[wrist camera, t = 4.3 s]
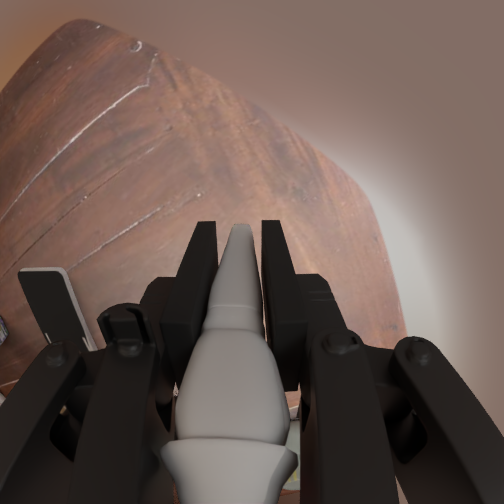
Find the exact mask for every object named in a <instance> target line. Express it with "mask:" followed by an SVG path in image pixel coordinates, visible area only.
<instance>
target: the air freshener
mask: <svg viewBox="0 0 504 504" xmlns="http://www.w3.org/2000/svg"><path fill="white" fill-rule="evenodd" d="M285 447H287V448H288V449H290V450H291V451H293V452H295V453H296V454H297V456H298V465H299V466H298V467H297V469H296V470H295V471H294V473H293V474H292V475H291V476H290V478H289V479H288V480H287V482H286V483H285V485H284V486H283V488H284V489H287V490H300V420H296V421H290V431H289V434H288V438H287V442H286V445H285Z"/></svg>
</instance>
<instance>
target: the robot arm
mask: <svg viewBox="0 0 504 504" xmlns="http://www.w3.org/2000/svg"><path fill="white" fill-rule="evenodd" d="M218 268H219V267H218V252H217V237H216V221H202V222H198V223H197V225H196V228H195V230H194V232H193V235H192V237H191V240H190V242H189V244H188V247H187V249H186V252H185V254H184V257H183V259H182V262H181V264H180V267H179V269H178V272H177V275H176V277H157V278H156V279H155V280H154V281H152V282H151V283H150V284H149V285H148V286H147V288H146V291H145V293H144V296H143V297H142V299H141V301H140V304H139V305H138V304H135V303H123V304H117V305H115V306H112V307H109V308H108V309H106V310H105V311H104V312H102V313H101V314H100V316H99V317H98V318H97V322H98V324H99V327H100V330H101V332H102V335H103V337H104V339H105V342H106V344H107V346H106V348H105V349H101V350H95V351H88V352H81V353H80V351H79V349H78V347H77V345H76V344H75V343H73V342H72V341H70V340H59V341H54V342H53V343H51V344H49V345H47V346H46V347H45V348H44V349H43V350H42V351H41V352H40V353H39V354H38V356H37V357H36V358H35V359H34V361H33V362H32V363H31V365H30V366H29V367H28V368H27V370H26V371H25V372H24V374H23V375H22V376H21V378H20V379H19V380H18V382H17V383H16V384H15V386H14V387H13V389H12V390H11V391H10V393H9V394H8V396H7V397H6V398H5V400H4V401H3V403H2V404H1V406H0V504H173V478H172V477H171V475H170V473H169V472H168V470H167V468H166V467H165V465H164V464H163V462H162V460H161V455H160V448H162V447H163V446H164V445H165V444H167V443H168V442H169V441H174V434H175V406H176V403H175V398H174V395H173V390H174V385H175V381H176V385H177V388H178V391H179V389H180V386H181V383H182V380H183V377H184V374H185V371H186V369H187V366H188V363H189V360H190V358H191V355H192V352H193V350H194V347H195V345H196V342H197V341H198V339H199V337H200V336H201V328H202V325H203V322H204V320H205V318H206V315H207V306H208V301H209V295H210V291H211V287H212V284H213V281H214V278H215V276H216V273H217V270H218ZM261 278H262V289H263V301H264V312H265V323H266V335H267V344H268V347H269V348H270V349H271V351H272V353H273V355H274V358H275V361H276V364H277V367H278V371H279V374H280V378H281V381H282V384H283V388H284V392H288V391H297V390H298V385H299V384H300V389H301V398H300V403H299V408H298V412H297V417H296V418H299V420H300V504H399V498H398V491H397V484H396V478H397V480H398V482H399V484H400V486H401V488H402V491H403V493H404V495H405V497H406V499H407V501H408V504H504V437H503V436H502V434H501V432H500V431H499V430H498V428H497V427H496V425H495V424H494V422H493V421H492V419H491V418H490V416H489V415H488V413H487V412H486V411H485V409H484V408H483V406H482V405H481V404H480V402H479V401H478V399H477V398H476V397H475V395H474V394H473V393H472V391H471V390H470V389H469V387H468V386H467V385H466V383H465V382H464V381H463V379H462V378H461V377H460V375H459V374H458V373H457V372H456V370H455V369H454V368H453V367H452V365H451V364H450V363H449V362H448V360H447V359H446V358H445V356H444V355H443V354H442V353H441V351H440V350H439V349H438V348H437V347H436V346H435V345H434V344H433V343H432V342H430V341H428V340H426V339H424V338H420V337H415V336H412V337H405V338H403V339H401V340H399V342H398V343H397V345H396V346H395V348H394V350H393V349H385V348H377V347H372V346H368V345H365V344H364V343H363V341H362V340H361V338H360V336H358V335H357V334H356V333H355V332H353V331H351V330H349V329H347V327H346V324H345V322H344V319H343V317H342V315H341V312H340V310H339V307H338V305H337V303H336V301H335V298H334V296H333V293H331V289H330V286H329V284H328V282H327V281H326V280H325V279H324V278H323V277H321V276H320V275H319V274H295V271H294V267H293V264H292V260H291V257H290V253H289V250H288V247H287V243H286V240H285V237H284V233H283V230H282V227H281V223H280V220H262V248H261ZM64 406H65V407H66V410H65V411H64V412H63V413H60V412H61V410H62V408H63V407H64ZM395 476H396V478H395Z"/></svg>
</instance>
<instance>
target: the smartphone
mask: <svg viewBox="0 0 504 504" xmlns="http://www.w3.org/2000/svg"><path fill="white" fill-rule="evenodd" d="M18 279H19V281H20V284H21V286H22V289H23V291H24V294H25V296H26V298H27V301H28V303H29V305H30V308H31V310H32V312H33V314H34V316H35V318H36V321H37V323H38V325H39V327H40V329H41V331H42V333H43V335H44V337H45V339H46V341H47V342H48V344H51V343H53V342H54V341H59V340H70V341H72V342H73V343H75V344H76V345H77V347H78V349H79V351H80V353H81V352H88V351H95V350H98V349H97V347H96V345H95V343H94V340H93V338H92V336H91V334H90V332H89V329H88V327H87V325H86V322H85V320H84V318H83V315H82V313H81V310H80V308H79V305H78V303H77V300H76V297H75V295H74V292H73V289H72V287H71V284H70V281H69V278H68V275H67V273H66V271H65V270H64V269H63V268H61V267H44V268H23V269H21V270H20V271H19V272H18Z"/></svg>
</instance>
